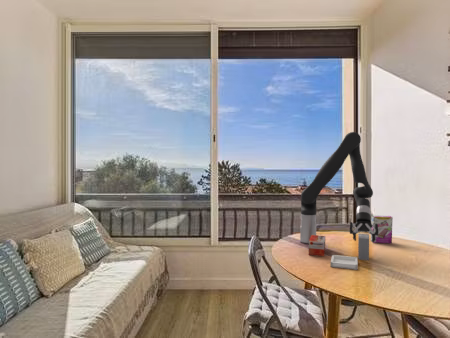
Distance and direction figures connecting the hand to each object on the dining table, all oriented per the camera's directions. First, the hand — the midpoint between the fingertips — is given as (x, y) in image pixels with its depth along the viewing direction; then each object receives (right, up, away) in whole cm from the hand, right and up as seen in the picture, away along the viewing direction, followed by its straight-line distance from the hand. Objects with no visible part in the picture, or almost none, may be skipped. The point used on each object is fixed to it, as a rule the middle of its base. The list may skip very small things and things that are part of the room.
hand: (364, 240), depth 173 cm
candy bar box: (+23, -8, +30) cm, 38 cm away
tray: (-15, -9, -11) cm, 21 cm away
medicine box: (-22, -9, +10) cm, 25 cm away
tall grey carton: (-1, -9, -2) cm, 9 cm away
